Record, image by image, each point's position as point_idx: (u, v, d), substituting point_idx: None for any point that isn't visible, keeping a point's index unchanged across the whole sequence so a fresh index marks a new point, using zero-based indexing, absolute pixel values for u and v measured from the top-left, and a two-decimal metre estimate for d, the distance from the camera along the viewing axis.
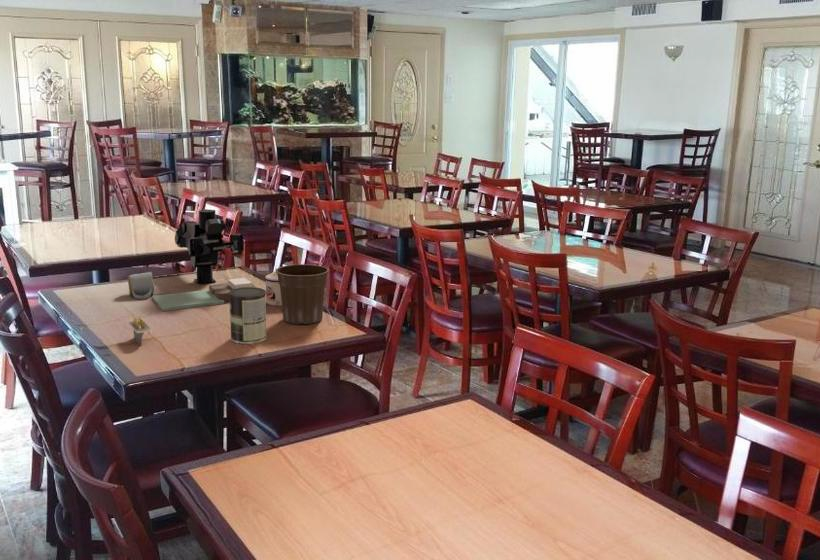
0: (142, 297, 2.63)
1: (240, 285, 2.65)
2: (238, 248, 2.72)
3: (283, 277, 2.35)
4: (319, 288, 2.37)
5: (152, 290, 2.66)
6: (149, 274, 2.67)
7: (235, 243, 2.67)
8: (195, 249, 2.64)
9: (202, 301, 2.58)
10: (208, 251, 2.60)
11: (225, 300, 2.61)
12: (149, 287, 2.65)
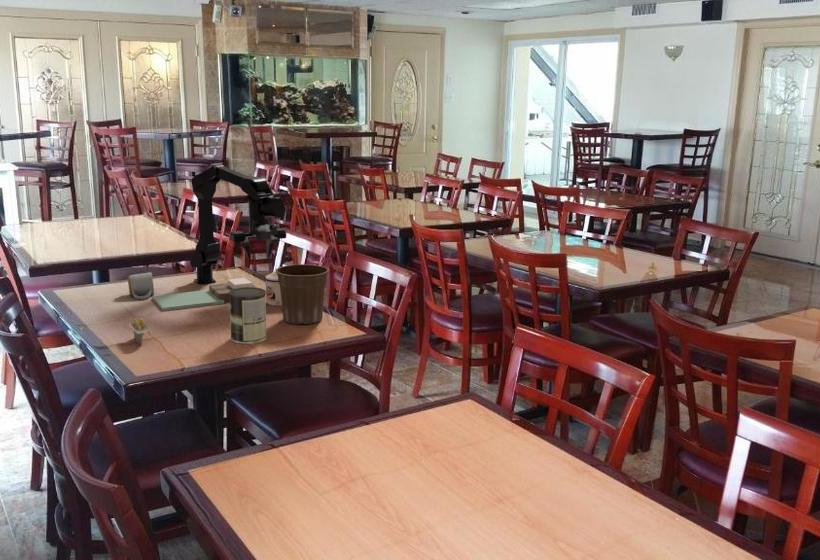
0: (142, 297, 2.62)
1: (240, 285, 2.65)
2: None
3: (283, 277, 2.35)
4: (319, 288, 2.37)
5: (152, 290, 2.66)
6: (149, 274, 2.66)
7: (270, 250, 2.71)
8: None
9: (202, 301, 2.58)
10: (248, 258, 2.69)
11: (225, 300, 2.61)
12: (149, 287, 2.65)
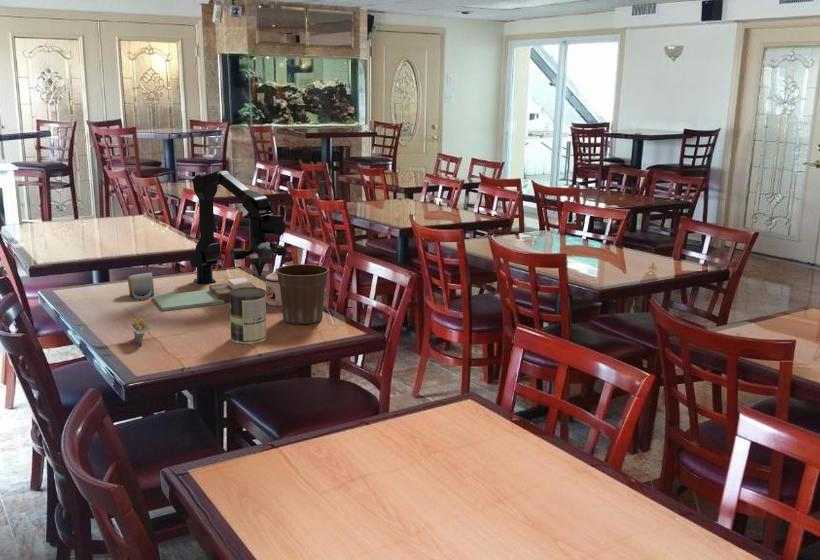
0: (142, 298, 2.62)
1: (240, 285, 2.65)
2: None
3: (283, 277, 2.35)
4: (319, 288, 2.37)
5: (152, 291, 2.66)
6: (149, 275, 2.66)
7: (262, 268, 2.71)
8: None
9: (202, 301, 2.58)
10: (257, 274, 2.72)
11: (225, 300, 2.61)
12: (149, 288, 2.65)
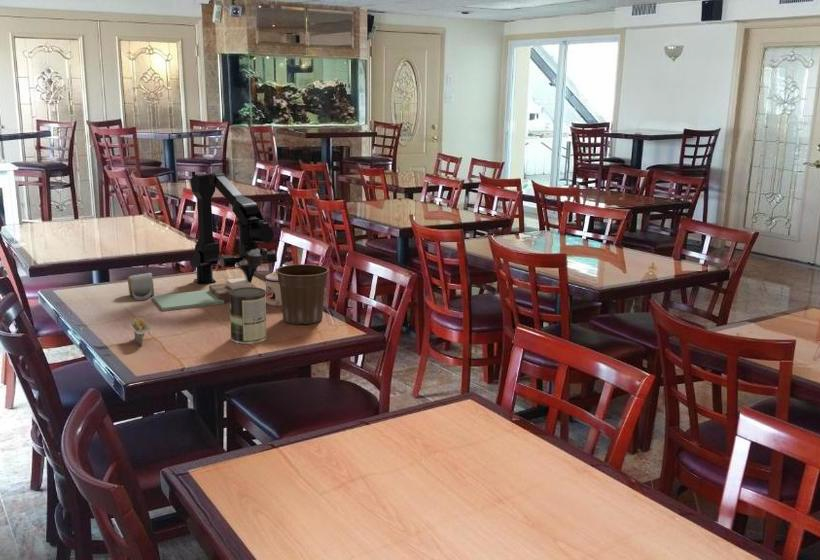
0: (142, 298, 2.62)
1: (239, 285, 2.65)
2: None
3: (283, 277, 2.35)
4: (319, 288, 2.37)
5: (152, 291, 2.65)
6: (149, 275, 2.66)
7: (252, 274, 2.70)
8: None
9: (202, 301, 2.58)
10: None
11: (225, 300, 2.61)
12: (149, 288, 2.64)
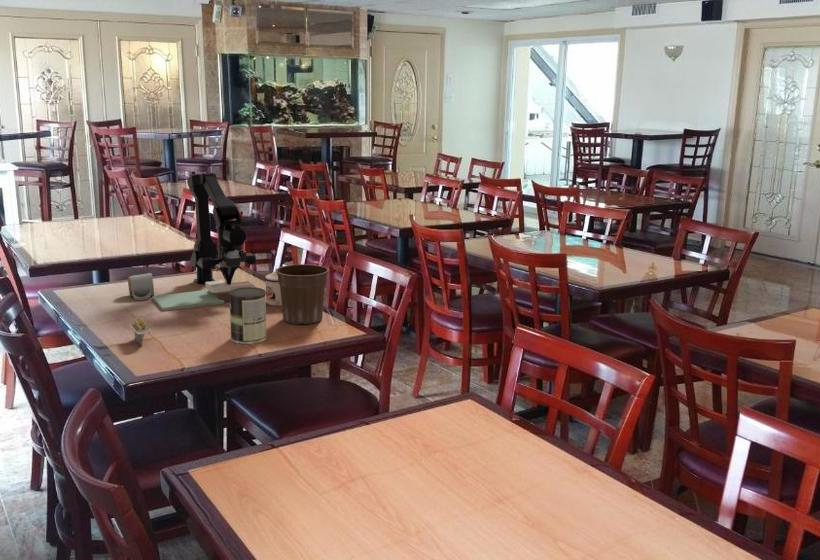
0: (142, 298, 2.61)
1: (218, 288, 2.61)
2: None
3: (283, 277, 2.35)
4: (319, 288, 2.37)
5: (152, 291, 2.65)
6: (149, 275, 2.65)
7: (231, 276, 2.66)
8: None
9: (202, 301, 2.58)
10: (227, 283, 2.67)
11: (225, 300, 2.61)
12: (149, 288, 2.64)
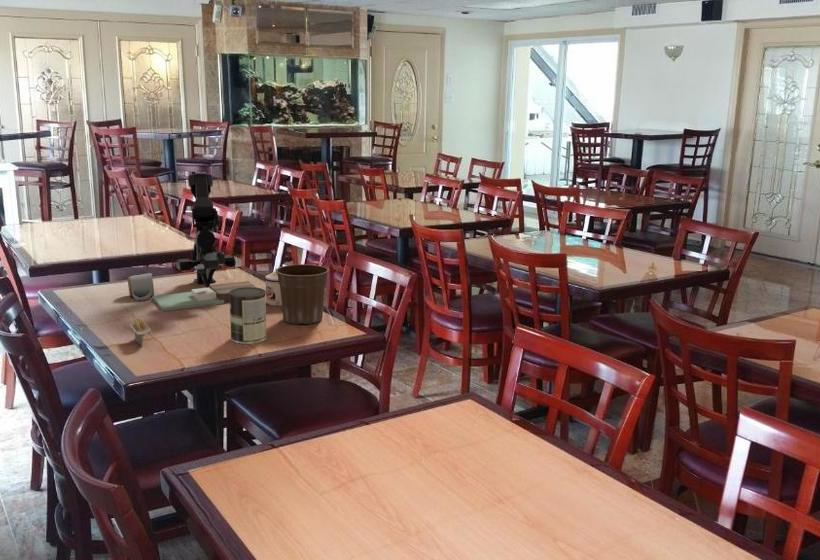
0: (142, 298, 2.61)
1: (204, 295, 2.59)
2: None
3: (283, 277, 2.35)
4: (319, 288, 2.37)
5: (152, 291, 2.65)
6: (149, 275, 2.65)
7: (210, 279, 2.63)
8: None
9: (202, 301, 2.58)
10: None
11: (225, 300, 2.61)
12: (149, 288, 2.64)
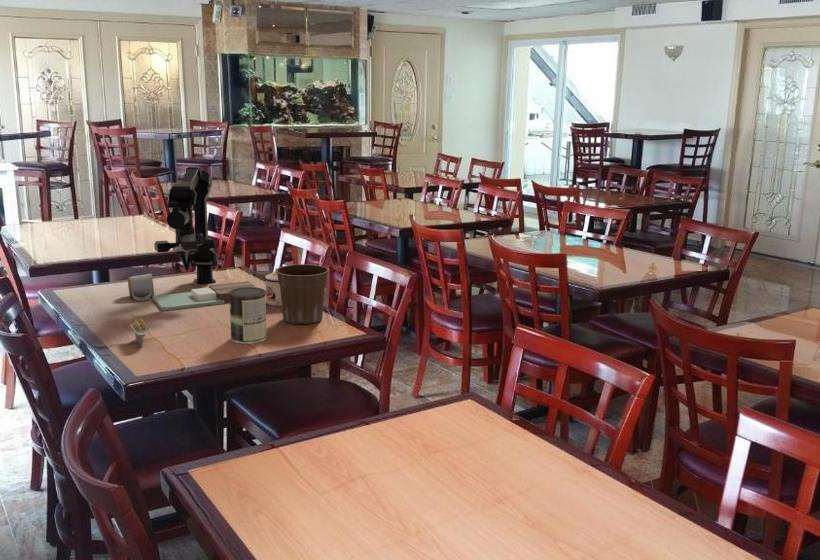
0: (142, 299, 2.60)
1: (204, 295, 2.59)
2: None
3: (283, 277, 2.35)
4: (319, 288, 2.37)
5: (152, 292, 2.64)
6: (149, 276, 2.64)
7: (189, 261, 2.58)
8: None
9: (202, 301, 2.58)
10: (184, 268, 2.59)
11: (225, 300, 2.61)
12: (149, 289, 2.63)
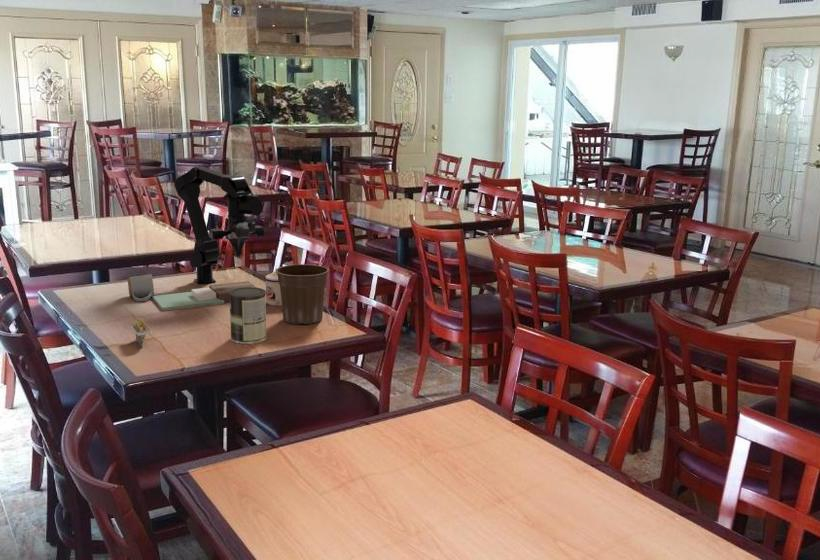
0: (142, 299, 2.60)
1: (204, 295, 2.59)
2: None
3: (283, 277, 2.35)
4: (319, 288, 2.37)
5: (152, 292, 2.64)
6: (149, 276, 2.64)
7: (240, 248, 2.74)
8: None
9: (202, 301, 2.58)
10: (236, 255, 2.75)
11: (225, 300, 2.61)
12: (149, 289, 2.63)
